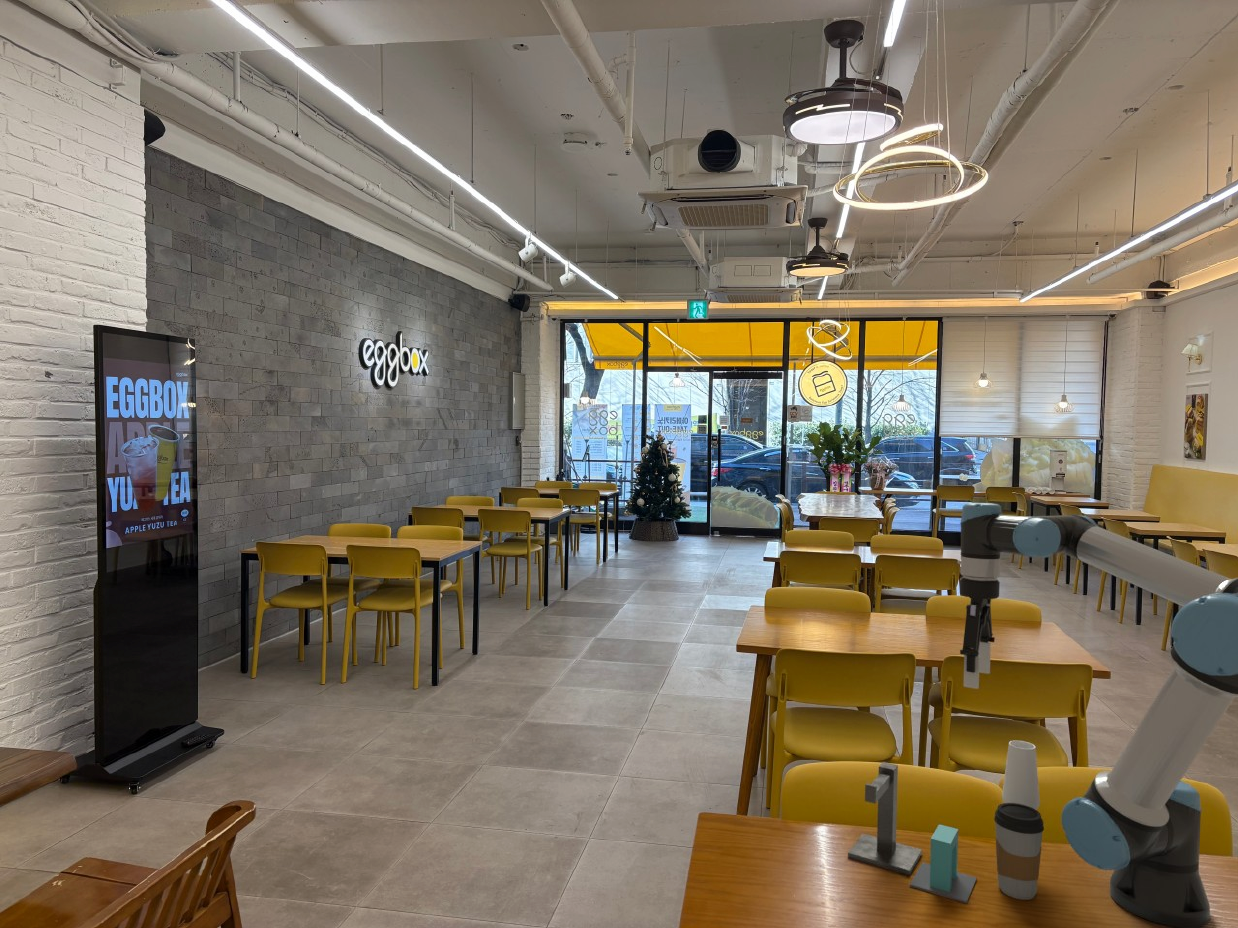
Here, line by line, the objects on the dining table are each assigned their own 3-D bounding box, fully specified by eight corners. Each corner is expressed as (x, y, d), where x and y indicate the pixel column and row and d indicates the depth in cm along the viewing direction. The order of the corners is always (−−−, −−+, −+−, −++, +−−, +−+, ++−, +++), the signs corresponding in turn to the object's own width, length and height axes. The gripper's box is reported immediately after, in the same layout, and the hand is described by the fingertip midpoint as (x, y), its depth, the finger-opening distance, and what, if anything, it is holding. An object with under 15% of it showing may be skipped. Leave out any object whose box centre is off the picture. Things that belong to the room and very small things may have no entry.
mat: (976, 879, 154) (976, 877, 154) (966, 903, 146) (966, 901, 146) (922, 863, 160) (922, 861, 160) (909, 886, 152) (909, 884, 152)
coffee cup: (1048, 906, 146) (1050, 823, 145) (998, 900, 147) (1000, 818, 147) (1034, 882, 154) (1036, 804, 154) (987, 876, 155) (989, 799, 155)
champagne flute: (1029, 877, 156) (1032, 753, 155) (994, 863, 161) (997, 743, 160) (1043, 865, 160) (1046, 745, 160) (1009, 852, 165) (1012, 736, 165)
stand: (921, 854, 164) (923, 765, 163) (900, 890, 150) (903, 793, 150) (862, 837, 170) (864, 752, 170) (837, 871, 157) (839, 778, 156)
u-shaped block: (937, 870, 157) (939, 824, 157) (957, 875, 155) (958, 829, 155) (929, 885, 151) (930, 838, 151) (949, 891, 149) (950, 843, 149)
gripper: (971, 569, 179) (968, 664, 180) (947, 583, 158) (945, 690, 159) (1008, 572, 175) (1005, 669, 176) (989, 587, 154) (986, 697, 155)
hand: (977, 679), depth 167 cm, fingers open, 13 cm apart
